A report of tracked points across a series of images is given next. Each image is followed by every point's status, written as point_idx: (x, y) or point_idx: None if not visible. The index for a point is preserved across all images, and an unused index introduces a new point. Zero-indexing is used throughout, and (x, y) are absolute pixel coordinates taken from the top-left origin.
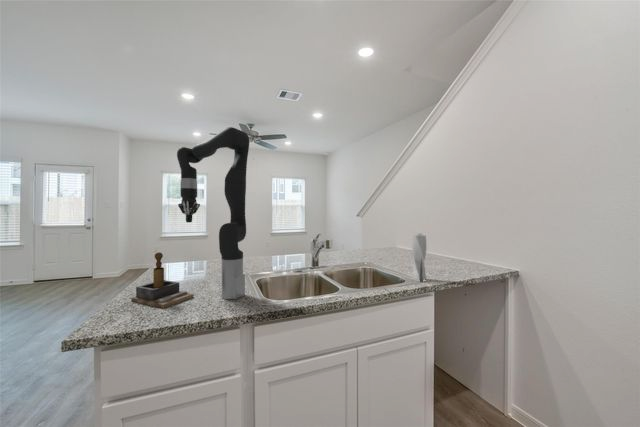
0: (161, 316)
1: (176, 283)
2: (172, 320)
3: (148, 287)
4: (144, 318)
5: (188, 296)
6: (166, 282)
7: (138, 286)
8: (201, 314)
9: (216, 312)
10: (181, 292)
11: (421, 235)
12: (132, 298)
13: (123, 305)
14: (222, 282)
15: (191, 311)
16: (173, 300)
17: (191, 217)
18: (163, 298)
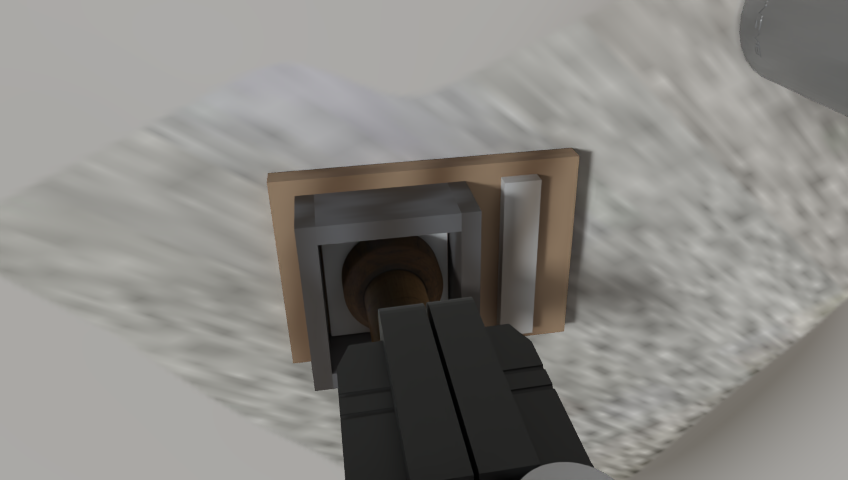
0: (630, 363)
1: (480, 231)
2: (707, 361)
3: (326, 321)
4: (580, 403)
5: (574, 189)
6: (366, 237)
7: (316, 380)
8: (785, 274)
9: (840, 229)
10: (523, 207)
11: None
12: (304, 359)
13: (328, 390)
14: (838, 112)
15: (717, 276)
16: (561, 276)
17: (559, 432)
18: (519, 313)
